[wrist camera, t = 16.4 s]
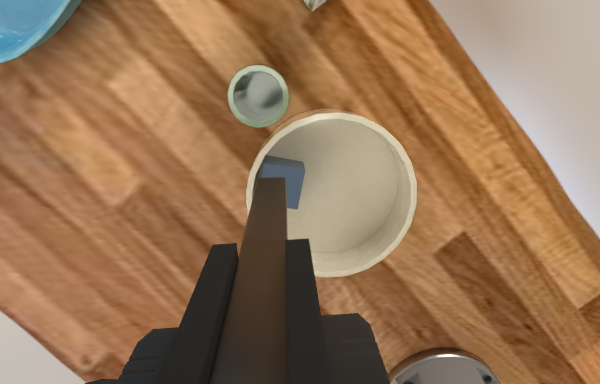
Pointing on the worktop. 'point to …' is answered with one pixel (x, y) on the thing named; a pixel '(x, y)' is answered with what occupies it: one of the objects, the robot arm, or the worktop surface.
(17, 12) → the casserole dish
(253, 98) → the utensil pot
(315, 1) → the syrup box
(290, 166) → the block
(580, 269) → the worktop surface
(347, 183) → the bowl
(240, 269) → the chopstick
